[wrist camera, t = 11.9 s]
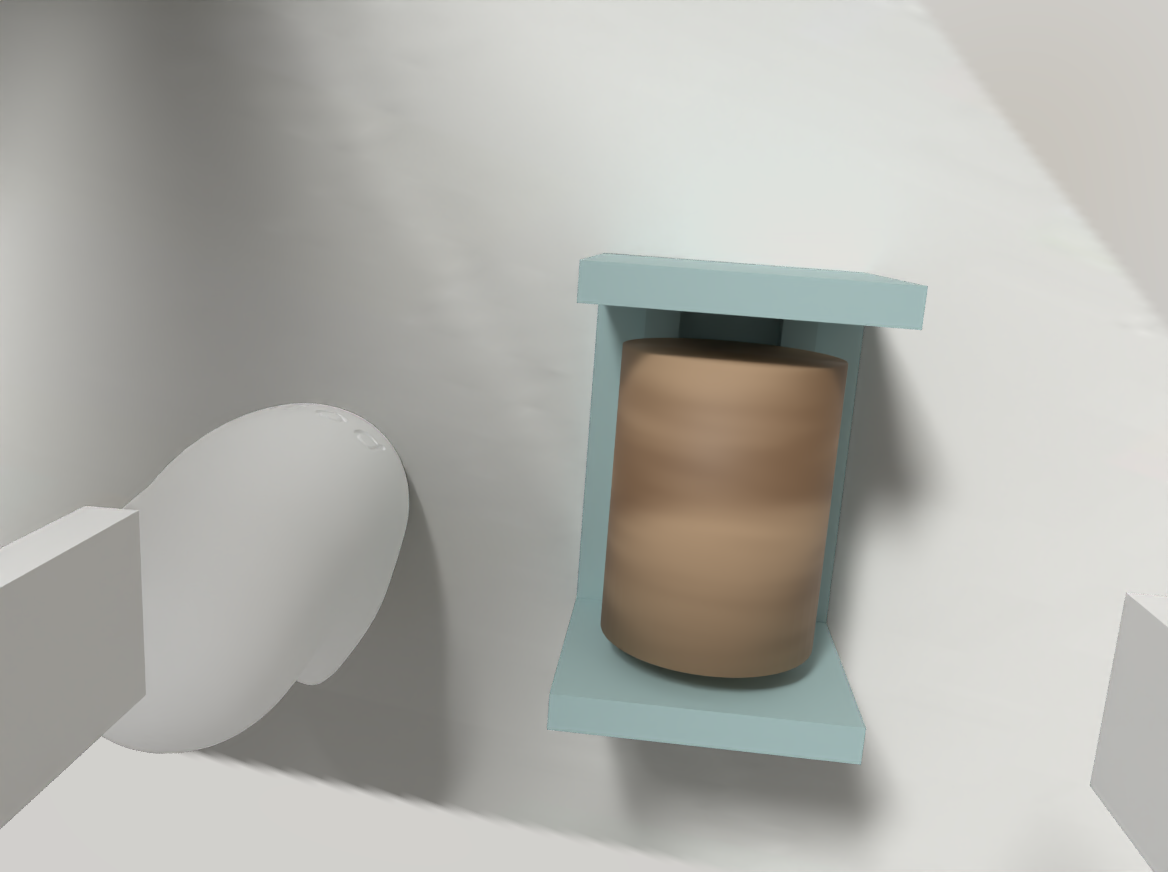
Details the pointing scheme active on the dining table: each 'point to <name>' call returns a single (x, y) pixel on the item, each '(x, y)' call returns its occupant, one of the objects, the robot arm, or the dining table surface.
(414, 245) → the dining table surface
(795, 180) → the dining table surface
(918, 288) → the cradle
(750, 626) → the roll
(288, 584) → the figurine
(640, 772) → the dining table surface
